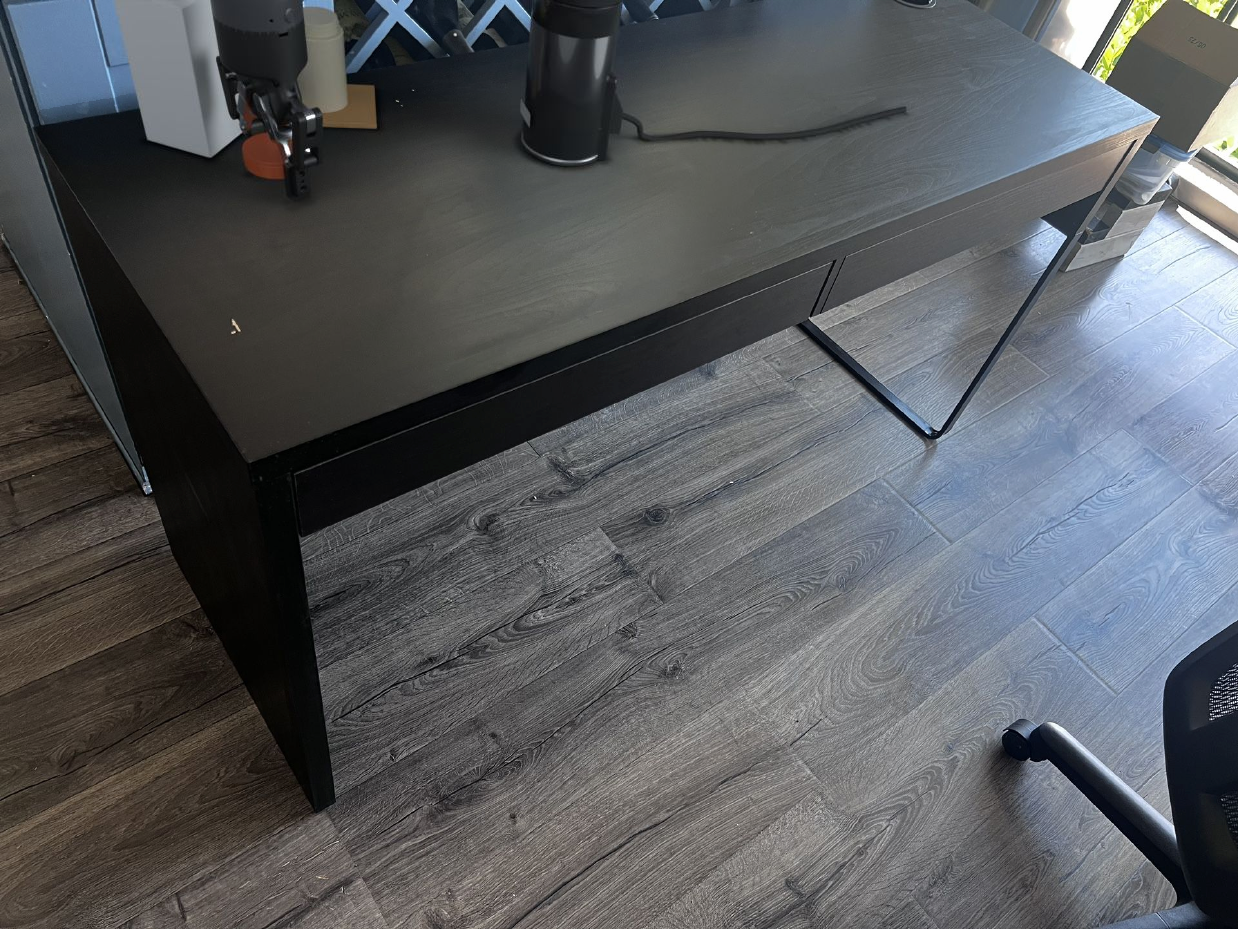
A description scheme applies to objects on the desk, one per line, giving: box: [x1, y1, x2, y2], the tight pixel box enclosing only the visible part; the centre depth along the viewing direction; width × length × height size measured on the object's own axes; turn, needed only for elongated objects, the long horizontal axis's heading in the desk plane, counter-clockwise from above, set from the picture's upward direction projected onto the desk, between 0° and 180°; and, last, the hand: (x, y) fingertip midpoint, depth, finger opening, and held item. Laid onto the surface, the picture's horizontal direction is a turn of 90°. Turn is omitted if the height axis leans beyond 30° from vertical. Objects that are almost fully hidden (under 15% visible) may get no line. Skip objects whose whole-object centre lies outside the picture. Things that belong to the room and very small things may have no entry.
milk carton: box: [113, 0, 243, 158], centre depth 91 cm, size 7×7×19 cm
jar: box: [297, 6, 348, 113], centre depth 102 cm, size 6×6×9 cm
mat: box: [284, 83, 378, 130], centre depth 106 cm, size 11×9×1 cm
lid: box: [241, 133, 292, 180], centre depth 91 cm, size 6×6×2 cm
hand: (280, 181), depth 94 cm, fingers closed on lid, 5 cm apart
